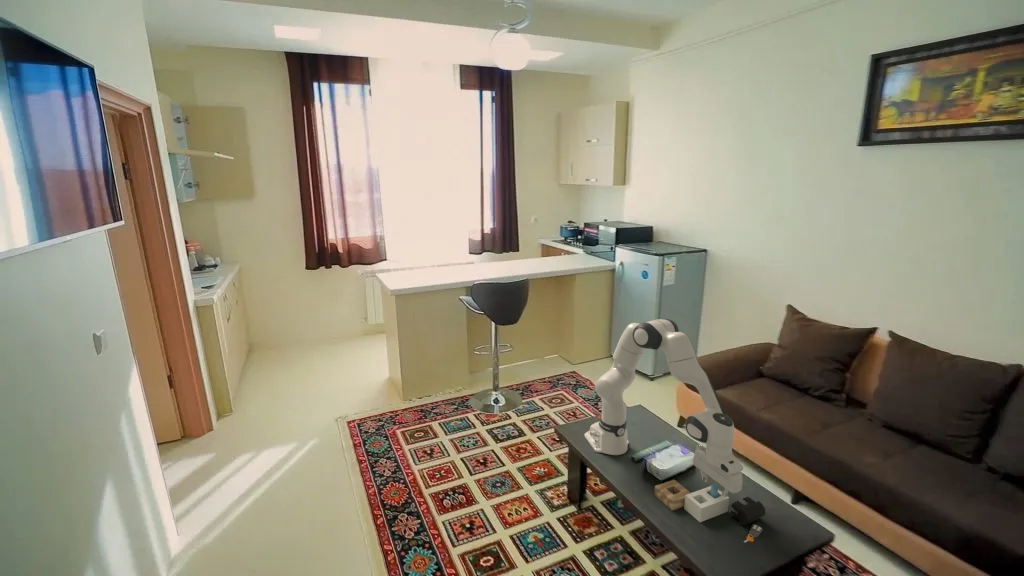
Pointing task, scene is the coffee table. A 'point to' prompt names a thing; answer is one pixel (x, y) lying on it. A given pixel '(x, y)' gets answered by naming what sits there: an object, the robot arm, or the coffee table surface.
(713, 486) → the pin
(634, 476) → the coffee table surface
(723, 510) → the white cinder block
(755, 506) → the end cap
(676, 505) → the mount block
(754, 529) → the key chain
